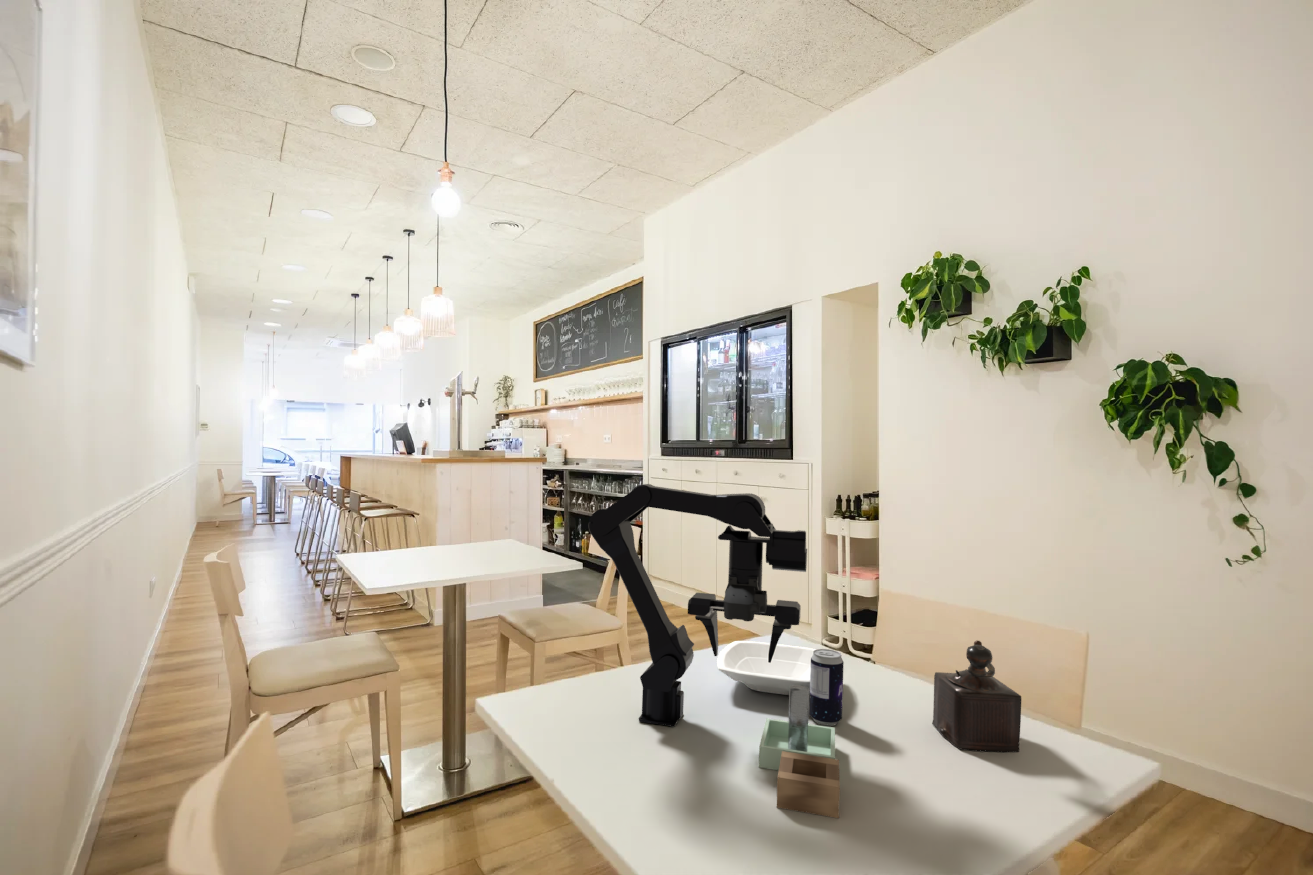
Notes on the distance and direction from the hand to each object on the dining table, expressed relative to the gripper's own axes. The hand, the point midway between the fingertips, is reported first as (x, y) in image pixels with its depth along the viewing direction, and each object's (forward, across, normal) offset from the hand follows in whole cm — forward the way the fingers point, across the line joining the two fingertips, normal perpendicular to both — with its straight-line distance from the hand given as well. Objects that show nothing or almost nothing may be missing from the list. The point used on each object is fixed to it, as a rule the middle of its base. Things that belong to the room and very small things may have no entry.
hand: (742, 658), depth 111 cm
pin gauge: (+11, +10, -7) cm, 17 cm away
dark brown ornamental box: (+12, +39, +8) cm, 42 cm away
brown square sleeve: (+12, +12, -19) cm, 25 cm away
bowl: (+12, +4, +23) cm, 26 cm away
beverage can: (+12, +14, +9) cm, 21 cm away
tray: (+12, +10, -7) cm, 17 cm away
